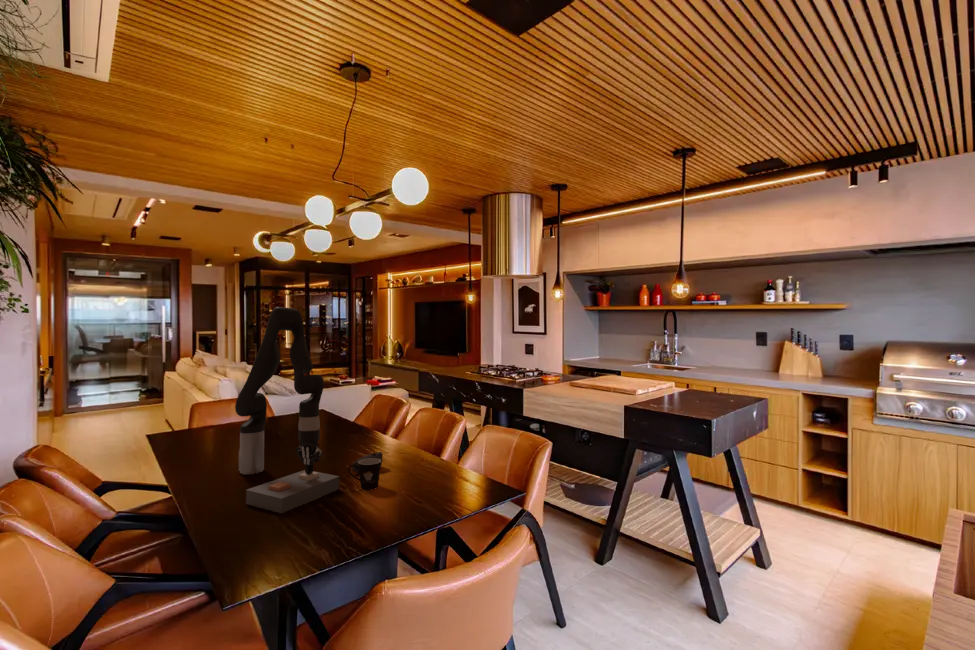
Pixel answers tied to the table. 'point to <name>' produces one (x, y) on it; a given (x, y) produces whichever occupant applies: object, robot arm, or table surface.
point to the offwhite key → (308, 476)
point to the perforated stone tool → (374, 455)
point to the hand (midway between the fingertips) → (309, 473)
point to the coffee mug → (368, 473)
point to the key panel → (291, 492)
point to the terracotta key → (279, 486)
